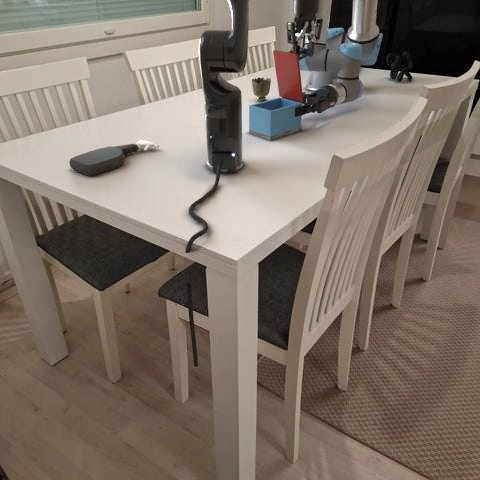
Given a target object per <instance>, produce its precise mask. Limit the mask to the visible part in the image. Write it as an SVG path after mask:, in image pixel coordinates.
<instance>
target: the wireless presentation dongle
mask: <svg viewBox="0 0 480 480" xmlns="http://www.w3.org/2000/svg"><path fill="white" fill-rule="evenodd" d="M159 148H160V145H159V144H158V143H155V142H151V141H148V140H144V139H139V140H138V141H137V142H135V143H129V144H128V143H126V144H122V145H113V146H105V147H100V148H97V149H94V150H90V151H87V152H83V153H81V154H78V155H74V156H73V157H70V159H69V161H68V162H69V167H70V168H71V169H72V170H74V171H75V172H78V173H81V174H83V175H85V176H89V177H90V176H91V177H92V176H95V175H99V174H102V173H105V172H107V171H110V170H113V169H116V168H118V167H120V166H122V165H123V164H124V163H125V158H126V156H127V155H131V154H133V153H138V151H140V150H143V151H144V152H146V151H147V150H149V149H159Z"/></svg>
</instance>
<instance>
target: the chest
mask: <svg viewBox="0 0 480 480" xmlns="http://www.w3.org/2000/svg"><path fill="white" fill-rule="evenodd" d="M300 106H303V104H302V103H300V102H296V101H292V100H288V99H284V98H282V97H276V98H273V99H269V100H264V101H260V102H257V103H253V104H250V105H248V133H249V134H252V135H253V136H256V137H259V138H262V139H265V140H267V141H273V140H276V139H280V138H282V137H286V136H289V135H291V134H292V135H293V134H294V133H297V132H301V131H302V116H303V115H301V116H298V117H295V108H296V107H300Z"/></svg>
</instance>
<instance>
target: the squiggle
mask: <svg viewBox="0 0 480 480" xmlns="http://www.w3.org/2000/svg"><path fill="white" fill-rule="evenodd" d="M401 57H402V59H401ZM391 59H392V60H391ZM393 60H394V61H393ZM385 61H386V64H387V67H390V68H391V70H390V72H389V78H390V79H391V80H395V79H396V81H397V82H399V83H400V82H402V81H403V79H404V76H406V78H407V80H408V81H412V80H413V79H414V77H413V75H412V74H411V73H410V72H409V71H410V70H412V69H413V68H414V64H413V61H412V57H411V54H410V53H409V52H408V51H403V53H402V54H401V55H396V54H394V53H392V52H390V53H387V55H386V57H385ZM406 62H407V65H408V66H407V67H405V66H404V65H405V64H406ZM400 70H401V71H400Z"/></svg>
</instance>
